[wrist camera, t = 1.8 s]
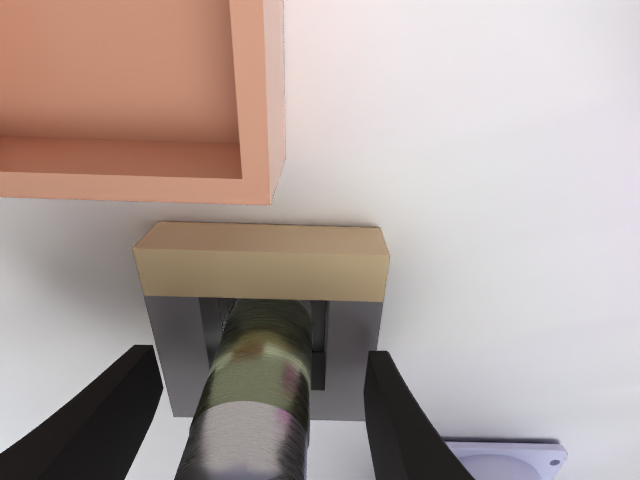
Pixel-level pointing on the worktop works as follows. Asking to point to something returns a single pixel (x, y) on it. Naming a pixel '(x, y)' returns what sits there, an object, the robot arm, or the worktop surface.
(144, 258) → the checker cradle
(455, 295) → the worktop surface
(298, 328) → the battery cell
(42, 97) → the cup
